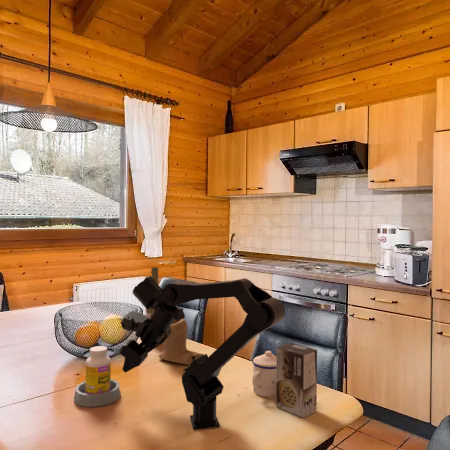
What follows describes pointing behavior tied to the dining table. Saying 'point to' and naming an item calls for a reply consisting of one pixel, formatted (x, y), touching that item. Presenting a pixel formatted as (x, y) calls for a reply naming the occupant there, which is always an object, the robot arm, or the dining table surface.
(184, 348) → the tan boot-shaped piece
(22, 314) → the dining table surface
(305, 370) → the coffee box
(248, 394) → the dining table surface
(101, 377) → the supplement bottle
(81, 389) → the round bowl
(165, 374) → the dining table surface
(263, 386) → the teacup with lid
